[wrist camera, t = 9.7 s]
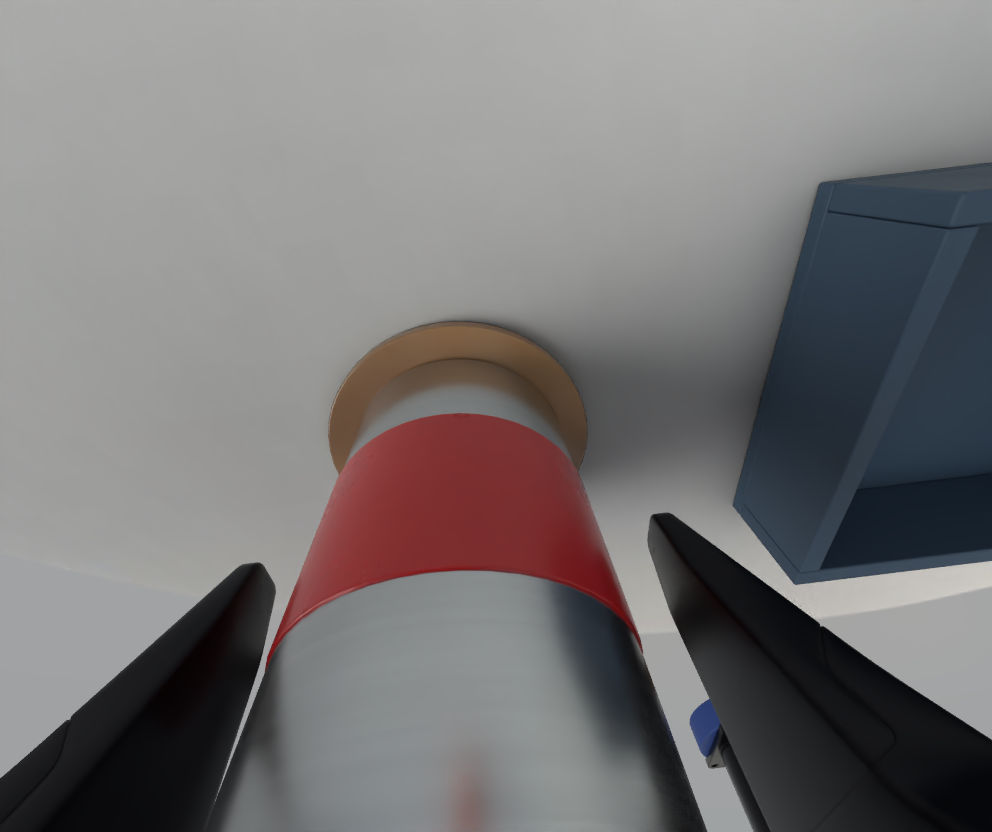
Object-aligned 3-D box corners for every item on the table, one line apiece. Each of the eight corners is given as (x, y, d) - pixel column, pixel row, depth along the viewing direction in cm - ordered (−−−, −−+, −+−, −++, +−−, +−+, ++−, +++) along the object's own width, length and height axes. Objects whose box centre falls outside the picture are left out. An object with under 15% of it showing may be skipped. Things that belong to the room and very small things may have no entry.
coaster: (583, 516, 16) (585, 524, 15) (368, 542, 16) (366, 551, 15) (586, 305, 11) (590, 309, 11) (292, 339, 11) (287, 345, 11)
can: (562, 510, 15) (698, 986, 6) (385, 532, 15) (279, 1039, 6) (559, 343, 11) (837, 869, 3) (330, 370, 11) (-53, 981, 3)
